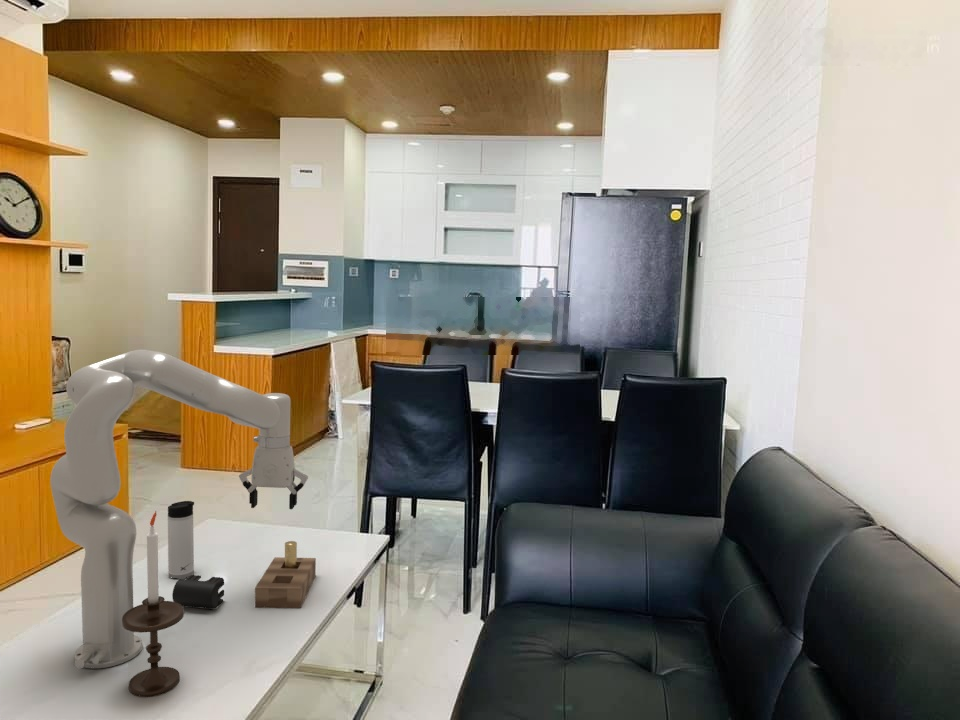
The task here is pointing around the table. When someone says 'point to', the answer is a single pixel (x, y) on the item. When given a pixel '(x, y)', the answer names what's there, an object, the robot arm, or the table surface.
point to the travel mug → (180, 539)
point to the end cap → (198, 592)
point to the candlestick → (153, 628)
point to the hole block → (285, 584)
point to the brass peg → (291, 555)
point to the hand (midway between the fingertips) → (273, 507)
